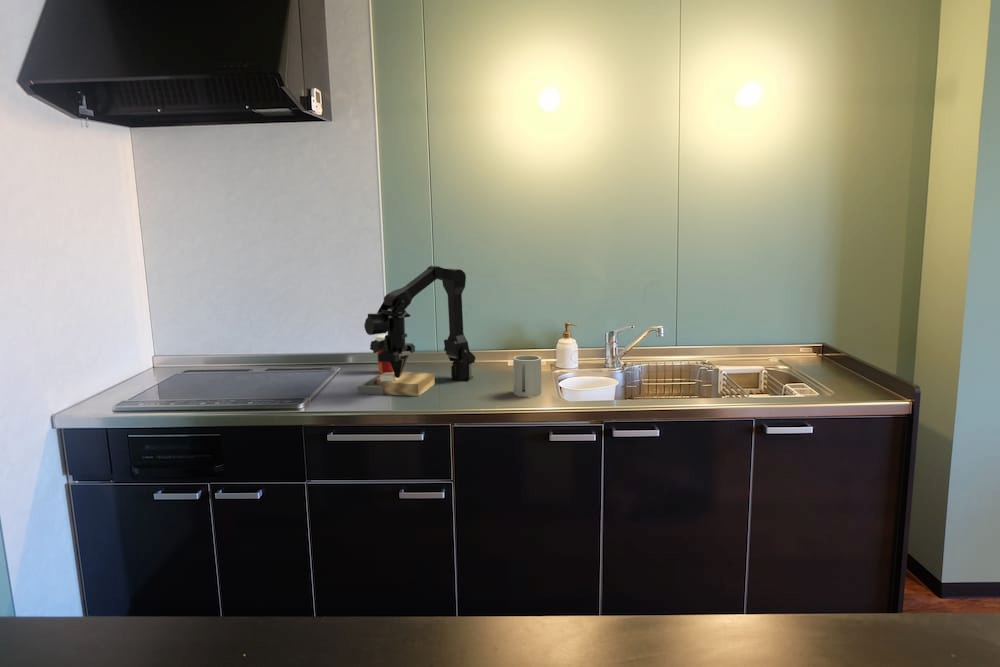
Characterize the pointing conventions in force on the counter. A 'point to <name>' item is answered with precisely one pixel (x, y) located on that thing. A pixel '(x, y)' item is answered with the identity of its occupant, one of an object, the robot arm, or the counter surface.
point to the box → (371, 387)
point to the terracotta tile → (380, 382)
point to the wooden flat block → (410, 384)
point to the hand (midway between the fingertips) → (397, 377)
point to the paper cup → (383, 366)
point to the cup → (527, 375)
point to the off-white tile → (388, 377)
